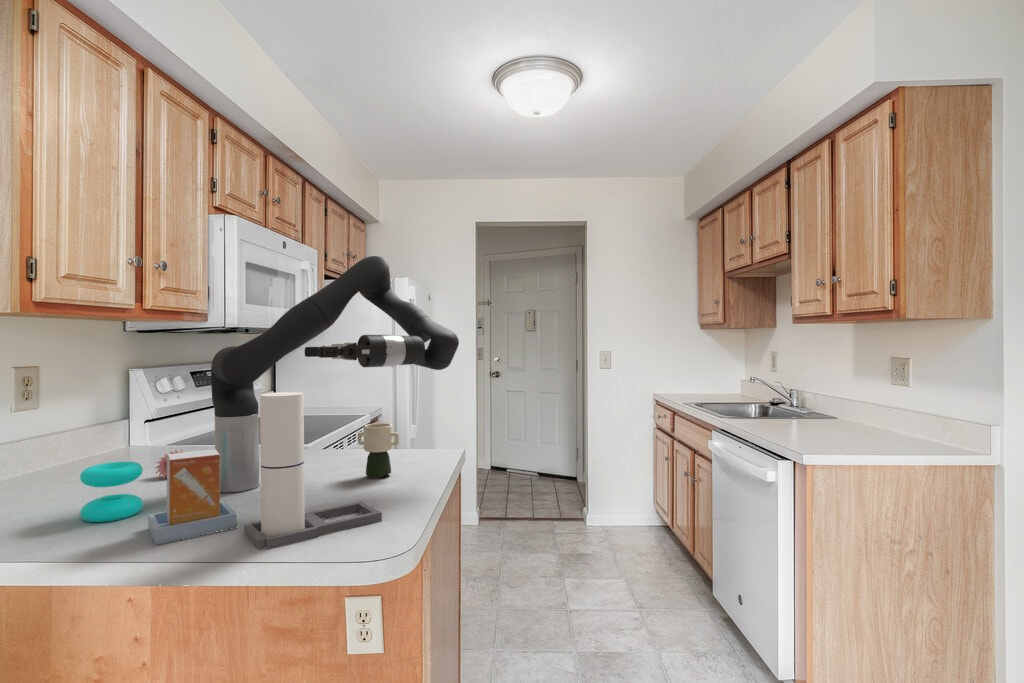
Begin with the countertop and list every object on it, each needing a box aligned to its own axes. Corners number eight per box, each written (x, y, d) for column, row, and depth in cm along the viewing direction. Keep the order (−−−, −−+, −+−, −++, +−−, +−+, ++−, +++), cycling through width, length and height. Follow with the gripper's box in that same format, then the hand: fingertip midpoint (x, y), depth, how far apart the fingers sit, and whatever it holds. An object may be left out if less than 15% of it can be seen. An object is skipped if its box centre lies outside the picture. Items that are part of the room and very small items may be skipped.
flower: (175, 450, 143) (167, 441, 139) (201, 463, 143) (194, 454, 138) (153, 476, 139) (144, 468, 134) (179, 489, 138) (171, 482, 134)
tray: (148, 528, 100) (148, 514, 100) (224, 514, 108) (224, 501, 108) (155, 545, 92) (155, 529, 92) (236, 528, 100) (236, 514, 100)
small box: (169, 533, 95) (168, 459, 95) (166, 524, 100) (166, 453, 100) (221, 524, 100) (220, 453, 100) (216, 515, 105) (215, 448, 105)
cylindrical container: (262, 544, 92) (261, 396, 92) (260, 531, 98) (259, 393, 98) (307, 536, 95) (305, 394, 95) (302, 524, 102) (301, 391, 101)
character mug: (404, 473, 140) (403, 423, 140) (394, 480, 133) (393, 427, 133) (363, 472, 142) (363, 422, 142) (352, 479, 134) (351, 427, 134)
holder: (243, 532, 98) (242, 524, 98) (360, 507, 111) (360, 500, 111) (259, 550, 89) (259, 541, 89) (383, 521, 103) (383, 513, 103)
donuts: (67, 472, 102) (98, 461, 112) (68, 525, 102) (99, 509, 112) (126, 470, 104) (151, 459, 114) (127, 522, 104) (152, 506, 114)
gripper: (368, 335, 133) (300, 335, 122) (395, 334, 122) (323, 334, 111) (368, 365, 133) (300, 368, 122) (395, 367, 122) (323, 370, 111)
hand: (311, 352), depth 117 cm, fingers open, 8 cm apart
